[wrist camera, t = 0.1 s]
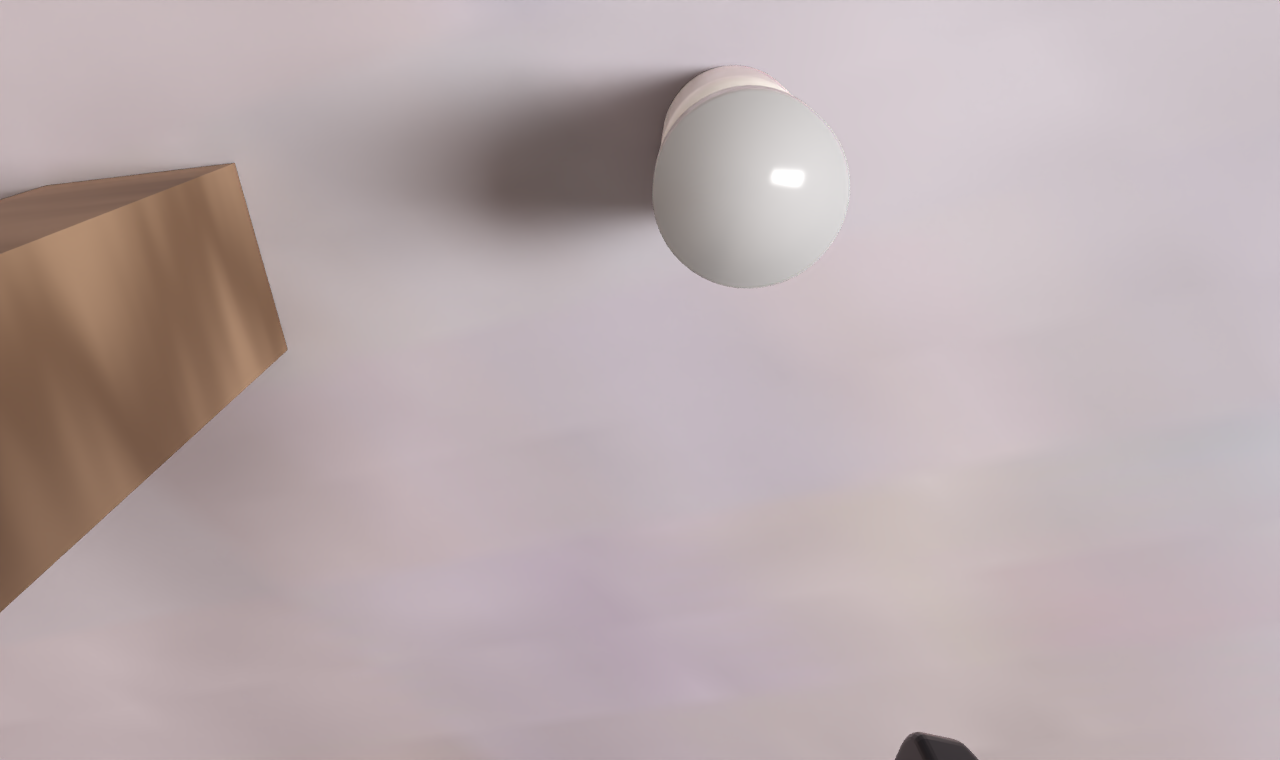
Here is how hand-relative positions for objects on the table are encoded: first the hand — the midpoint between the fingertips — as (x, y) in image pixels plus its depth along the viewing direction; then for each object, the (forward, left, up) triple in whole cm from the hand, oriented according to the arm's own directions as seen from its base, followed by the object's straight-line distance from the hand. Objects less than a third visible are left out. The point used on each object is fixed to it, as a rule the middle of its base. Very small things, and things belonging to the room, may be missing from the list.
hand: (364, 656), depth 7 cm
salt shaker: (+3, -3, -15) cm, 15 cm away
